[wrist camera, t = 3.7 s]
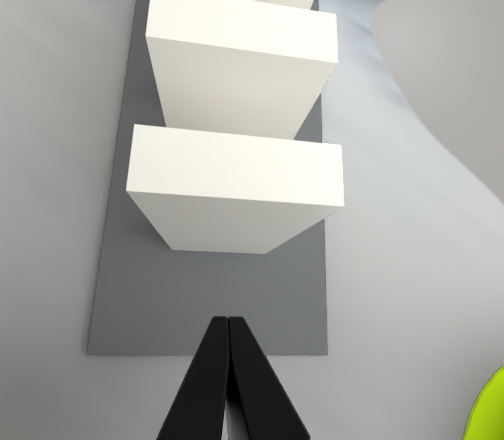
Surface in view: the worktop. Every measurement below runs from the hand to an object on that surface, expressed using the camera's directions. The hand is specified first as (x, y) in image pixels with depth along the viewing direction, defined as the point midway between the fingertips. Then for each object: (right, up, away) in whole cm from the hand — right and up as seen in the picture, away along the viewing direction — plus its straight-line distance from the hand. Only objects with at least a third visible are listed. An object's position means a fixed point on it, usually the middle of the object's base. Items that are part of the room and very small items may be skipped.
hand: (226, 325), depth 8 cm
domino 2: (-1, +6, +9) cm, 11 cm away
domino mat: (-1, +10, +11) cm, 14 cm away
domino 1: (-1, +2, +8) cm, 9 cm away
